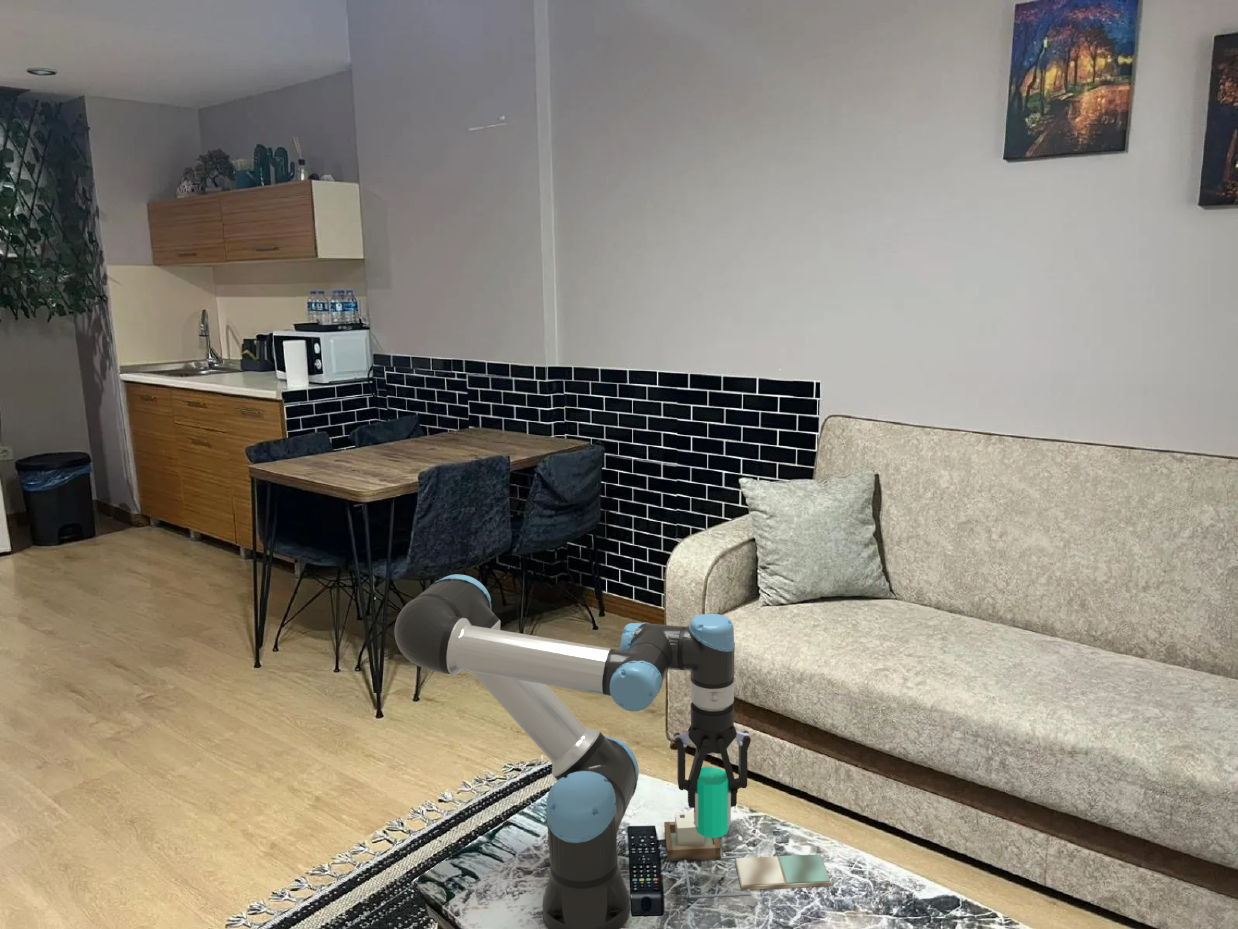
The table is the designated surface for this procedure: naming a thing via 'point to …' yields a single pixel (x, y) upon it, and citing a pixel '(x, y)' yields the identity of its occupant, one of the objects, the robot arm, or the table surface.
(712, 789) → the candle
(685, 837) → the die
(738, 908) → the table surface
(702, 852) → the tray
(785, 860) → the beige green flat slab
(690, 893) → the pad
